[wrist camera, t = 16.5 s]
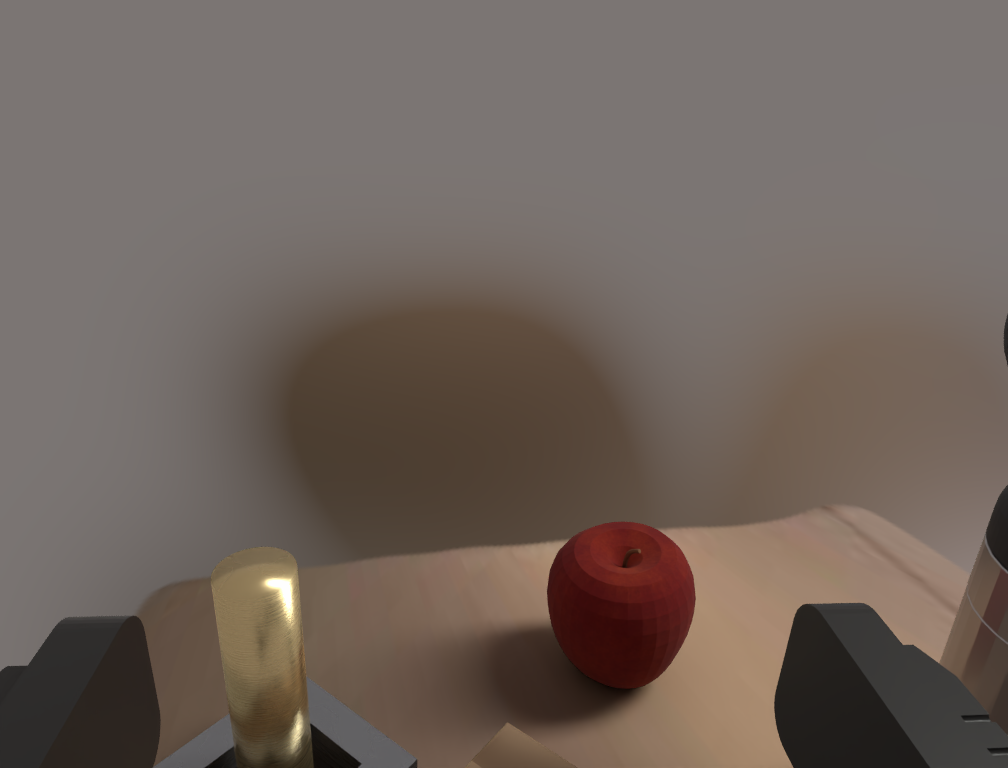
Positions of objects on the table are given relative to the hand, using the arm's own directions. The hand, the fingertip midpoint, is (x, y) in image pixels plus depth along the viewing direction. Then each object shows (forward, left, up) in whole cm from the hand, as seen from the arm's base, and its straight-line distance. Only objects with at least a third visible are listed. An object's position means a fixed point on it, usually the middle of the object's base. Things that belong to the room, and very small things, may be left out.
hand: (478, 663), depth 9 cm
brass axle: (-9, -20, -30) cm, 37 cm away
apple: (-30, -12, -30) cm, 44 cm away
